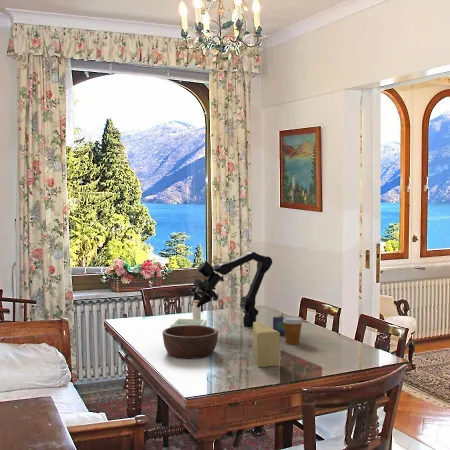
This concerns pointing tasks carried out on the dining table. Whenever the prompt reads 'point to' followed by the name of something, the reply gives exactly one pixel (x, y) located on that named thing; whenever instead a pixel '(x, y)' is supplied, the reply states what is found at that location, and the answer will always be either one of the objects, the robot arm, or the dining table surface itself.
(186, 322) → the bin
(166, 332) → the wooden bowl
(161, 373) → the dining table surface
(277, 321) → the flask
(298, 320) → the disposable coffee cup
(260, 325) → the cheese
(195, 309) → the jar
